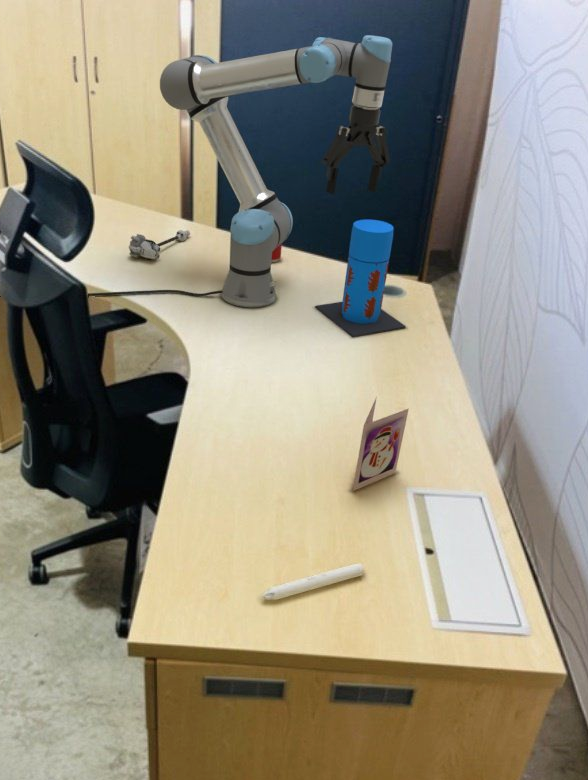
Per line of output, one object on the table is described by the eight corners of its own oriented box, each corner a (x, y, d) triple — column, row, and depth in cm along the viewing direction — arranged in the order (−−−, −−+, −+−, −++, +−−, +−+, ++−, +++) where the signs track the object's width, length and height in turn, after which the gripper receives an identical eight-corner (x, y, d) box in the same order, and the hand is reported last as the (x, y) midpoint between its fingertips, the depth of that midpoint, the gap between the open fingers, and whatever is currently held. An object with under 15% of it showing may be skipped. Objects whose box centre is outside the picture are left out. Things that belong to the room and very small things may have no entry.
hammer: (201, 227, 252) (154, 246, 228) (198, 246, 256) (151, 267, 232) (176, 217, 254) (126, 236, 231) (173, 237, 258) (124, 257, 234)
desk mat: (352, 337, 200) (353, 335, 199) (315, 307, 214) (315, 305, 213) (405, 328, 206) (405, 326, 206) (365, 299, 220) (365, 298, 220)
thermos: (383, 312, 213) (398, 223, 198) (375, 326, 204) (390, 235, 190) (345, 304, 215) (357, 216, 201) (336, 319, 207) (348, 228, 192)
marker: (264, 606, 119) (265, 595, 117) (258, 597, 120) (259, 586, 119) (362, 577, 125) (364, 567, 124) (356, 569, 127) (358, 559, 125)
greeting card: (355, 493, 144) (367, 427, 135) (330, 473, 149) (340, 408, 140) (398, 475, 150) (412, 410, 141) (372, 456, 155) (384, 393, 146)
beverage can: (280, 263, 240) (283, 226, 233) (260, 262, 240) (263, 224, 233) (280, 256, 245) (283, 219, 238) (261, 255, 245) (263, 218, 238)
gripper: (333, 109, 183) (319, 198, 195) (414, 110, 194) (396, 194, 206) (317, 102, 188) (304, 189, 201) (396, 103, 199) (380, 185, 212)
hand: (351, 191), depth 204 cm, fingers open, 13 cm apart
